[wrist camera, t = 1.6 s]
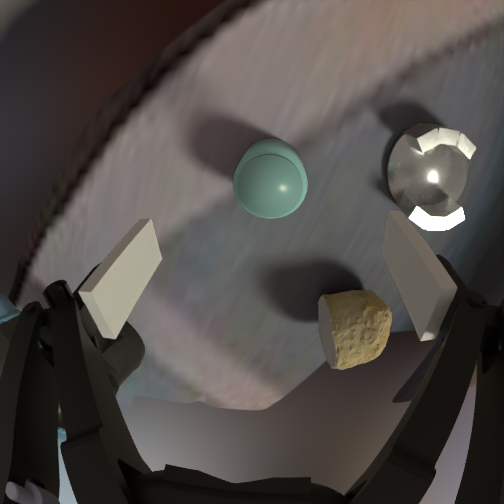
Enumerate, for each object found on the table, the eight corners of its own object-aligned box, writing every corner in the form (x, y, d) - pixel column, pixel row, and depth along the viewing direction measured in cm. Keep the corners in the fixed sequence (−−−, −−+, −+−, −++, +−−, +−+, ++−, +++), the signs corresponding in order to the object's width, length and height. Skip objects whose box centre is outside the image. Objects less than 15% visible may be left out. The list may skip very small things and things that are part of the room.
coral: (295, 315, 28) (392, 339, 23) (325, 267, 35) (400, 282, 31) (292, 374, 32) (370, 396, 27) (319, 324, 40) (385, 339, 35)
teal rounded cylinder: (244, 197, 29) (236, 223, 24) (238, 140, 26) (227, 152, 21) (302, 195, 28) (308, 220, 23) (301, 137, 25) (307, 148, 20)
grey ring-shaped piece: (381, 214, 28) (392, 230, 25) (388, 118, 23) (402, 122, 20) (456, 216, 27) (471, 230, 24) (468, 130, 22) (487, 137, 18)
